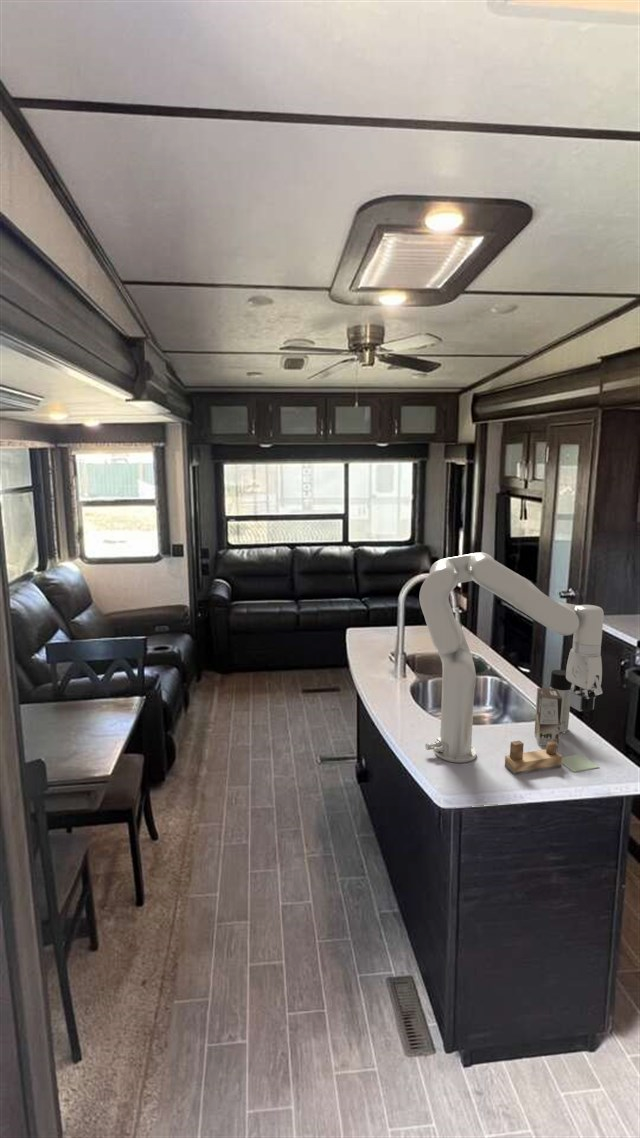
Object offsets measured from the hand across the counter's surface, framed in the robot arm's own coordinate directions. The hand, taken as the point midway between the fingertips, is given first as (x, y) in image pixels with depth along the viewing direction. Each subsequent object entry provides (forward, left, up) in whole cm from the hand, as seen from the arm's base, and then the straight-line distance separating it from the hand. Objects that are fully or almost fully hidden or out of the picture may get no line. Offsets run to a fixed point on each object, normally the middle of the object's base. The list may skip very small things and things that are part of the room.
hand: (581, 706), depth 179 cm
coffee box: (+1, +16, -18) cm, 24 cm away
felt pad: (0, 0, -18) cm, 18 cm away
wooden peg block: (-14, +2, -18) cm, 23 cm away
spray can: (+10, +22, -18) cm, 30 cm away
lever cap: (0, 0, 0) cm, 0 cm away
